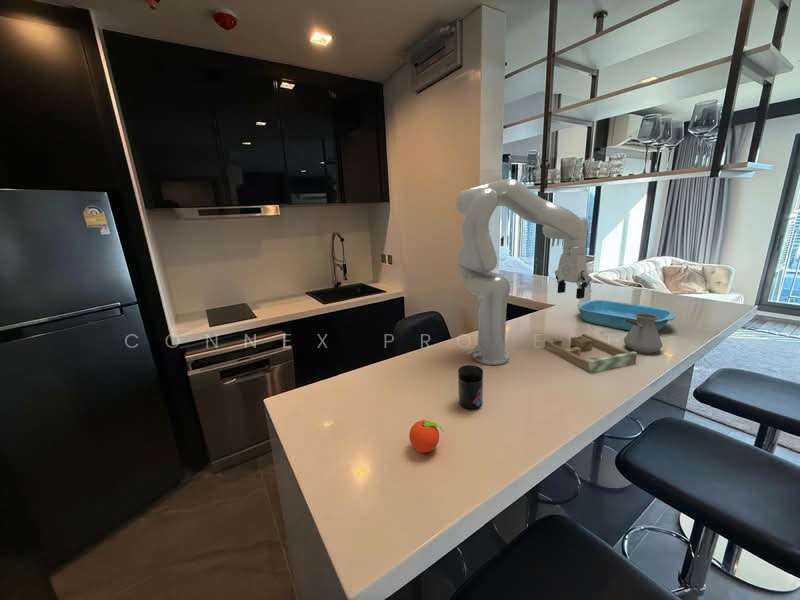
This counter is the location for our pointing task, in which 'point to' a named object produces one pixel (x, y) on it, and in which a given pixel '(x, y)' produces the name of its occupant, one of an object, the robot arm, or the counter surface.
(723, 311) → the counter surface
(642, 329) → the coffee pot
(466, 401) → the supplement container
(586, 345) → the walnut block
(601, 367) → the trap box
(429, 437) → the clementine
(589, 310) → the casserole dish
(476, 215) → the robot arm
